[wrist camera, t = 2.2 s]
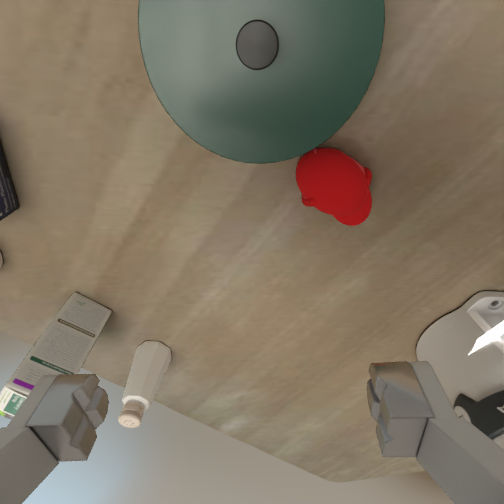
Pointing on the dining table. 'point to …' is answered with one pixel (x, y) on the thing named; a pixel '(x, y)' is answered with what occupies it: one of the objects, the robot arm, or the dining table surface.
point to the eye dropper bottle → (1, 260)
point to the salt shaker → (144, 381)
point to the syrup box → (56, 349)
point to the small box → (6, 190)
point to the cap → (335, 185)
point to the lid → (260, 69)
